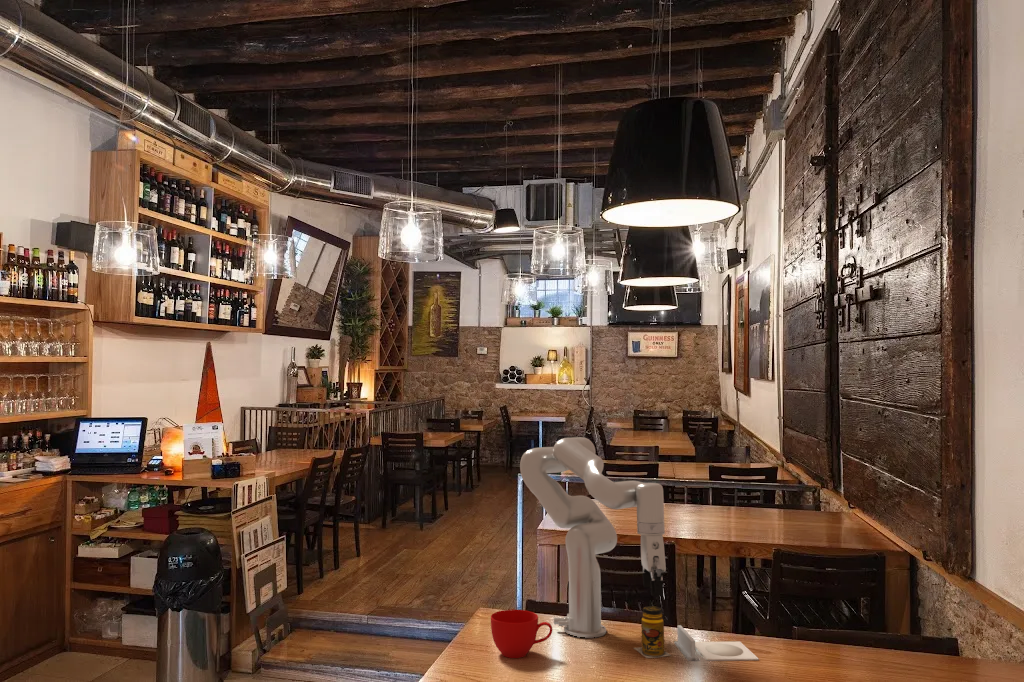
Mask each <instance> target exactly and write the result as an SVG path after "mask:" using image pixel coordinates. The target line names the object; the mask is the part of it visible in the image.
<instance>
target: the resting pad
mask: <svg viewBox="0 0 1024 682" xmlns="http://www.w3.org/2000/svg"><path fill="white" fill-rule="evenodd" d="M695 650H697V651H698V652H699V654H700V655H701V656H702V657H703V658H704V660H705V661H706V662H707V661H709V662H710V661H759V660H760V659H759V658H758V656H757V655H755V653H753V652H752V651H751V650H750V649H749V648H748V647H746V645H745V644H743V643H742V641H695Z"/></svg>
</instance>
